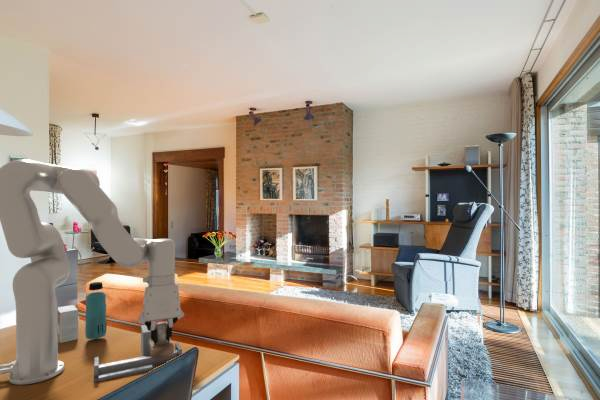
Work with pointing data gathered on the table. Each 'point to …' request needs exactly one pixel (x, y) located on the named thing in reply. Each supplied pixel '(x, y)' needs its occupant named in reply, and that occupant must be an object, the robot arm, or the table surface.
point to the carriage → (161, 343)
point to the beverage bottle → (95, 312)
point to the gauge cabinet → (145, 340)
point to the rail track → (131, 369)
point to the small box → (67, 323)
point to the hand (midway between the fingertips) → (161, 340)
